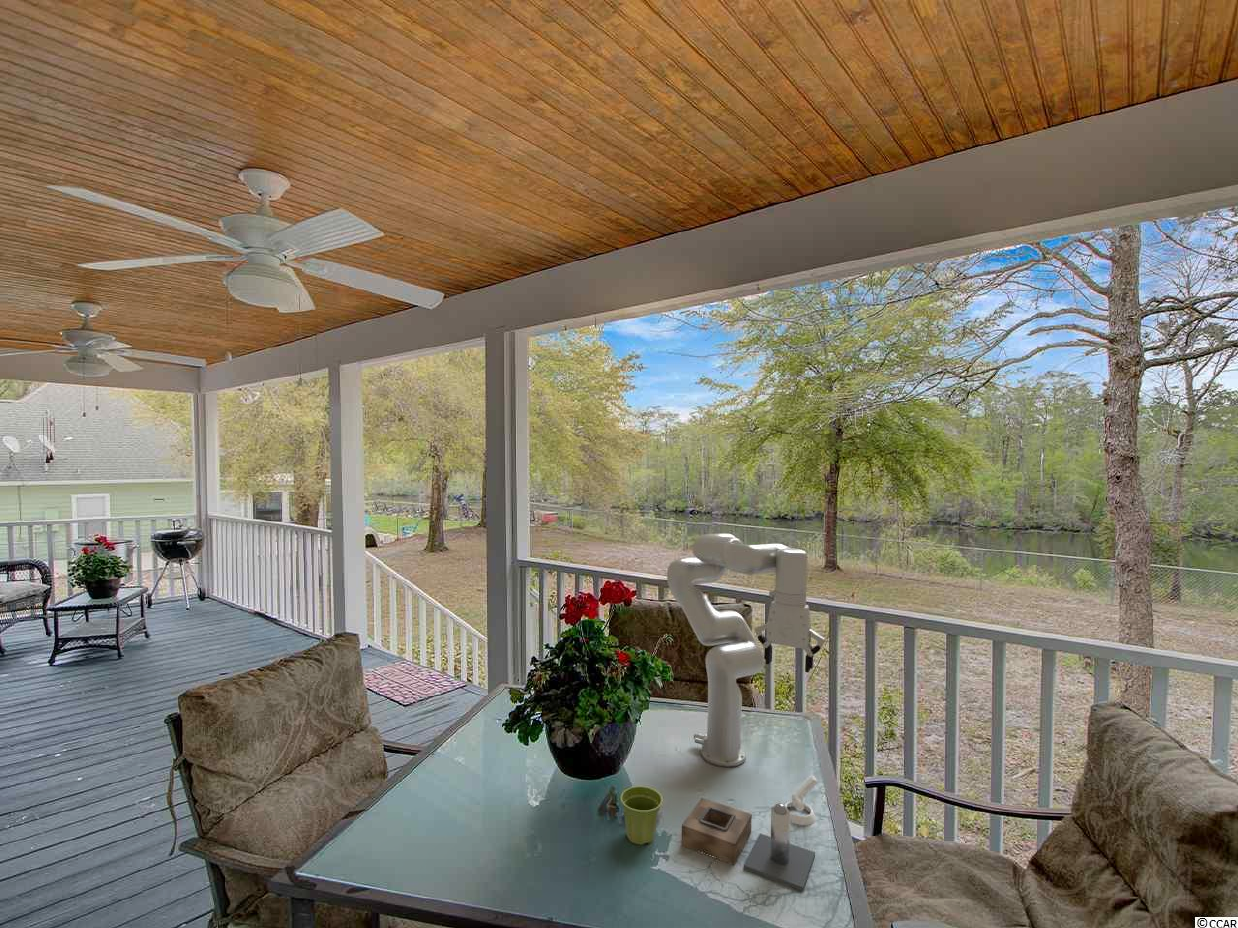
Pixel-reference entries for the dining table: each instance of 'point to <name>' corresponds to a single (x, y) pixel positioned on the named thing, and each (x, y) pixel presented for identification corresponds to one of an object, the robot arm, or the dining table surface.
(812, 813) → the white ring with handle
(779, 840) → the steel peg
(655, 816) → the plant pot
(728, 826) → the block
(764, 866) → the mat
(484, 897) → the dining table surface
